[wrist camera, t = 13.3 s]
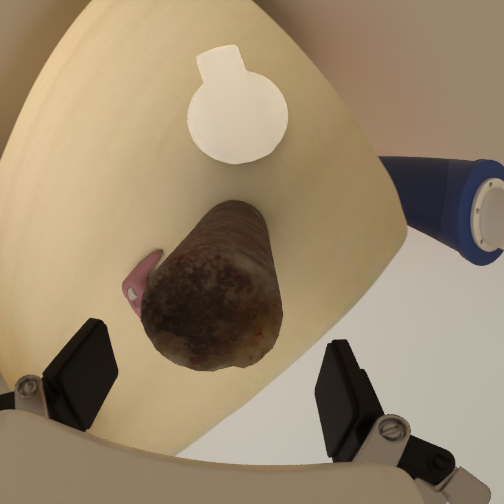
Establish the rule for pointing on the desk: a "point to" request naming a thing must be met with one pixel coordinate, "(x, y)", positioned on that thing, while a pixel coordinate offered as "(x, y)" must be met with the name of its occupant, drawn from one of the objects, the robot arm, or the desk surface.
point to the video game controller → (139, 281)
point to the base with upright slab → (235, 109)
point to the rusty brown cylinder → (216, 293)
